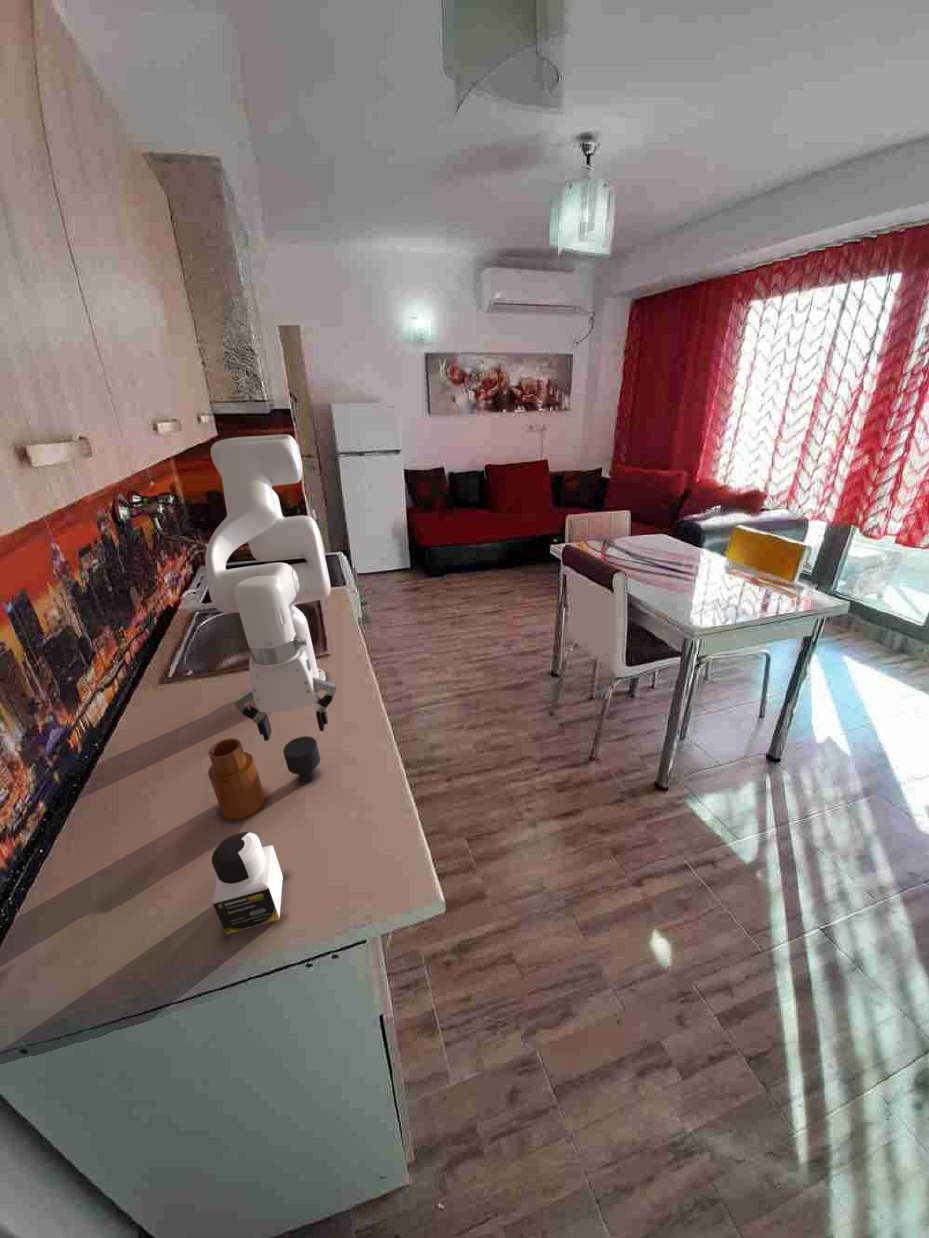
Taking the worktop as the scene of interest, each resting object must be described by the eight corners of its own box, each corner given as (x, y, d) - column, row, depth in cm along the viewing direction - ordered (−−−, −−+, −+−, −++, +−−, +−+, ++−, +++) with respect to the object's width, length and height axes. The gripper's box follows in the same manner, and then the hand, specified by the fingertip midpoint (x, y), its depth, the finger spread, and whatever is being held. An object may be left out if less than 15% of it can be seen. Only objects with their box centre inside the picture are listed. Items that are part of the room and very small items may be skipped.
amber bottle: (227, 792, 89) (208, 738, 84) (267, 785, 90) (250, 731, 85) (217, 823, 83) (195, 766, 77) (260, 814, 84) (242, 758, 78)
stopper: (293, 769, 94) (285, 739, 91) (324, 763, 95) (317, 733, 92) (289, 791, 89) (281, 760, 86) (322, 785, 90) (315, 754, 87)
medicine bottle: (225, 936, 65) (200, 877, 60) (234, 889, 71) (211, 832, 66) (280, 920, 67) (259, 862, 61) (283, 876, 73) (265, 819, 68)
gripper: (328, 632, 84) (344, 712, 91) (226, 646, 82) (250, 727, 89) (325, 651, 78) (343, 735, 85) (214, 667, 75) (241, 753, 82)
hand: (295, 731), depth 87 cm, fingers open, 9 cm apart
